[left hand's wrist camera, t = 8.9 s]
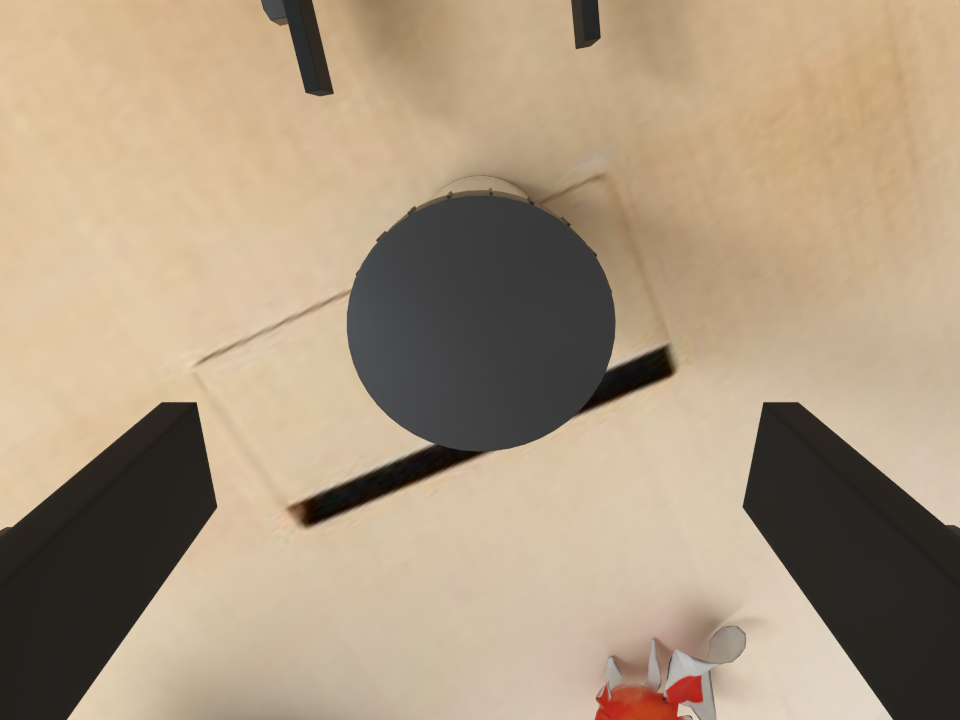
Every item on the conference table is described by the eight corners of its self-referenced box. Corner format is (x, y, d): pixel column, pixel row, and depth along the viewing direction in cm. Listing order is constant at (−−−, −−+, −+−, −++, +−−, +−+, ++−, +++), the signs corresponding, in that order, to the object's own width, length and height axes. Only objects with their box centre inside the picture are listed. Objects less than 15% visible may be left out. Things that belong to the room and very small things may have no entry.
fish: (547, 667, 46) (634, 795, 39) (692, 558, 50) (794, 655, 43) (562, 715, 53) (638, 831, 45) (688, 615, 57) (776, 707, 50)
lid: (475, 467, 25) (475, 497, 23) (305, 310, 23) (287, 328, 21) (654, 322, 23) (671, 341, 21) (486, 128, 20) (487, 127, 18)
